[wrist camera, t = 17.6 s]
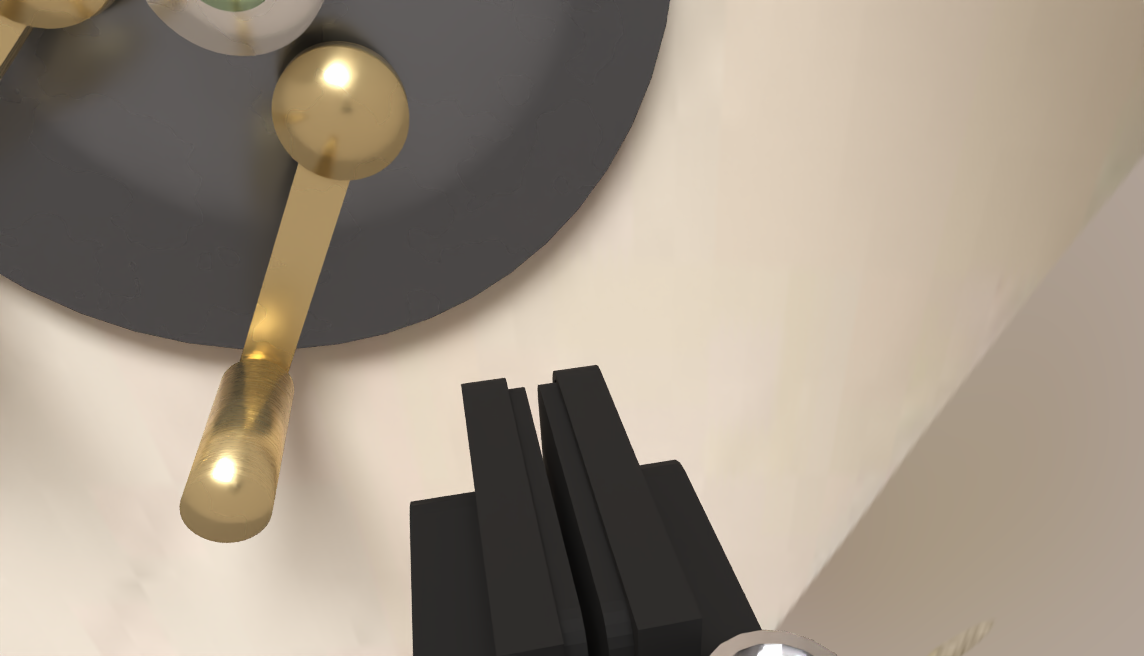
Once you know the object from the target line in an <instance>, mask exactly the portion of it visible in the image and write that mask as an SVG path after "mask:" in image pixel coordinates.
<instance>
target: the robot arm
mask: <svg viewBox="0 0 1144 656" xmlns="http://www.w3.org/2000/svg"><path fill="white" fill-rule="evenodd" d="M461 387H462V395H463V403H464V410H465V418H466V426H467V433H468V441H469V449H470V456H471V464H472V472H473V479H474V487H475V492H469V493H463V494H457V495H450V496H444V497H438V498H431V499H425V500H419V501H413V502H411V503H410V548H411V589H412V631H413V656H837V655H836V654H835V653H834V652H832V651H830V650H829V649H827V648H826V647H824V646H822V645H821V644H819V643H817V642H815V641H814V640H812V639H809V638H806V637H803V636H800V635H797V634H794V633H790V632H785V631H773V630H762V629H761V627H760V625H759V623H758V621H757V619H756V617H755V615H754V613H753V611H752V609H751V606H750V604H749V602H748V600H747V598H746V596H745V594H744V592H743V590H742V588H741V586H740V584H739V582H738V580H737V577H736V575H735V573H734V571H733V569H732V567H731V565H730V563H729V561H728V559H727V557H726V555H725V553H724V551H723V549H722V546H721V544H720V542H719V540H718V538H717V536H716V534H715V532H714V530H713V528H712V526H711V524H710V522H709V520H708V517H707V515H706V513H705V511H704V509H703V507H702V505H701V503H700V501H699V499H698V497H697V495H696V493H695V491H694V488H693V486H692V484H691V482H690V480H689V478H688V476H687V474H686V472H685V470H684V469H683V467H682V465H681V464H680V462H678V461H677V460H670V461H664V462H658V463H651V464H645V465H639V463H638V461H637V458H636V456H635V453H634V451H633V448H632V446H631V444H630V441H629V439H628V436H627V434H626V431H625V429H624V427H623V424H622V422H621V419H620V417H619V414H618V412H617V410H616V407H615V405H614V402H613V400H612V397H611V395H610V393H609V390H608V388H607V385H606V383H605V380H604V378H603V376H602V373H601V371H600V369H599V367H598V366H597V365H593V366H586V367H578V368H571V369H564V370H557V371H553V383H549V384H542V385H538V403H539V416H540V428H541V440H542V453H543V458H542V454H541V450H540V446H539V442H538V438H537V434H536V430H535V426H534V422H533V418H532V414H531V410H530V406H529V402H528V398H527V394H526V391H525V388H524V387H521V388H514V389H508V387H507V382H506V379H505V378H500V379H493V380H486V381H479V382H472V383H465V384H461Z"/></svg>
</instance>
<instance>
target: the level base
mask: <svg viewBox="0 0 1144 656" xmlns="http://www.w3.org/2000/svg"><path fill="white" fill-rule="evenodd" d="M669 2H670V0H115V1H114V2H113V3H112V4H111V5H110V6H109V7H108V8H107V9H106V10H104V11H103V12H101V13H100V14H98V15H96V16H94V17H92V18H90V19H87V20H85V21H83V22H80V23H78V24H75V25H72V26H68V27H63V28H55V29H45V28H36V27H34V29H33V31H32V32H31V34H30V35H29V37H28V38H27V40H26V41H25V43H24V44H23V46H22V48H21V49H20V51H19V52H18V54H17V55H16V57H15V58H14V60H13V62H12V63H11V65H10V66H9V68H8V69H7V71H6V72H5V74H4V75H3V77H2V79H1V80H0V274H1V275H3V276H5V277H6V278H8V279H10V280H12V281H13V282H15V283H17V284H19V285H20V286H22V287H24V288H26V289H27V290H30V291H32V292H34V293H36V294H39V295H41V296H43V297H45V298H48V299H50V300H52V301H54V302H57V303H59V304H61V305H63V306H66V307H68V308H70V309H72V310H74V311H77V312H79V313H81V314H84V315H87V316H90V317H93V318H96V319H99V320H102V321H105V322H108V323H111V324H114V325H117V326H120V327H124V328H127V329H130V330H133V331H136V332H140V333H145V334H149V335H154V336H159V337H163V338H168V339H172V340H177V341H181V342H186V343H192V344H201V345H210V346H219V347H228V348H237V349H244V346H245V342H246V339H247V336H248V332H249V329H250V325H251V322H252V319H253V315H254V312H255V309H256V305H257V302H258V298H259V295H260V292H261V288H262V285H263V281H264V278H265V275H266V271H267V268H268V264H269V261H270V258H271V254H272V251H273V247H274V244H275V241H276V237H277V234H278V231H279V227H280V224H281V220H282V217H283V214H284V210H285V207H286V203H287V200H288V197H289V193H290V190H291V186H292V183H293V180H294V176H295V173H296V170H297V166H298V162H296V161H295V160H294V159H293V158H292V157H291V156H290V154H289V153H288V152H287V151H286V150H285V148H284V147H283V145H282V144H281V142H280V140H279V138H278V136H277V133H276V131H275V128H274V124H273V119H272V98H273V93H274V90H275V87H276V84H277V82H278V80H279V78H280V76H281V75H282V73H283V71H284V69H285V68H286V66H287V65H288V64H289V62H290V61H291V60H292V59H293V58H294V57H295V56H296V55H297V54H299V53H300V52H301V51H303V50H304V49H306V48H308V47H310V46H312V45H315V44H318V43H322V42H326V41H348V42H353V43H356V44H360V45H363V46H365V47H367V48H369V49H371V50H373V51H374V52H376V53H378V54H379V55H380V56H381V57H383V58H384V59H385V60H386V61H387V62H388V63H389V64H390V65H391V66H392V67H393V69H394V70H395V71H396V73H397V74H398V76H399V78H400V79H401V81H402V83H403V86H404V88H405V91H406V95H407V100H408V108H409V129H408V134H407V138H406V141H405V143H404V145H403V147H402V149H401V151H400V153H399V154H398V155H397V157H396V158H395V159H394V160H393V161H392V162H391V163H390V164H389V165H388V166H387V167H386V168H384V169H383V170H381V171H380V172H378V173H376V174H374V175H372V176H369V177H366V178H362V179H358V180H350V182H349V185H348V188H347V191H346V194H345V197H344V200H343V204H342V207H341V210H340V213H339V216H338V219H337V222H336V225H335V228H334V232H333V235H332V238H331V241H330V244H329V247H328V250H327V253H326V256H325V259H324V263H323V266H322V269H321V272H320V275H319V278H318V281H317V284H316V287H315V291H314V294H313V297H312V300H311V303H310V306H309V309H308V312H307V315H306V318H305V322H304V325H303V328H302V331H301V334H300V337H299V340H298V343H297V346H296V349H297V348H306V347H316V346H325V345H335V344H342V343H346V342H351V341H355V340H360V339H364V338H369V337H373V336H378V335H382V334H386V333H389V332H392V331H395V330H398V329H401V328H404V327H406V326H409V325H412V324H415V323H418V322H421V321H424V320H427V319H430V318H432V317H434V316H436V315H438V314H440V313H442V312H444V311H446V310H448V309H450V308H452V307H454V306H456V305H458V304H461V303H463V302H465V301H467V300H469V299H471V298H473V297H474V296H476V295H477V294H479V293H480V292H482V291H483V290H485V289H487V288H488V287H490V286H491V285H493V284H494V283H496V282H497V281H499V280H501V279H502V278H504V277H505V276H507V275H508V274H510V273H511V272H512V271H514V270H515V269H516V268H517V267H518V266H520V265H521V264H522V263H523V262H524V261H526V260H527V259H528V258H529V257H530V256H532V255H533V254H534V253H535V252H536V251H538V250H539V249H540V248H541V247H542V246H544V245H545V244H546V243H547V242H548V241H549V240H550V239H551V238H552V237H553V236H554V235H555V234H556V232H557V231H558V230H559V229H560V228H561V227H562V226H563V225H564V224H565V223H566V222H567V221H568V220H569V219H570V218H571V216H572V215H573V214H574V213H575V212H576V211H577V210H578V209H579V208H580V206H581V205H582V204H583V202H584V201H585V200H586V198H587V197H588V195H589V194H590V193H591V191H592V190H593V189H594V187H595V186H596V184H597V183H598V182H599V180H600V179H601V178H602V176H603V175H604V173H605V172H606V171H607V169H608V168H609V166H610V164H611V162H612V160H613V159H614V157H615V155H616V153H617V151H618V150H619V148H620V146H621V144H622V142H623V141H624V139H625V137H626V135H627V133H628V132H629V130H630V128H631V126H632V124H633V122H634V119H635V117H636V114H637V112H638V109H639V107H640V105H641V102H642V100H643V97H644V95H645V92H646V90H647V87H648V85H649V83H650V80H651V78H652V74H653V70H654V67H655V63H656V59H657V56H658V52H659V49H660V45H661V41H662V38H663V34H664V31H665V27H666V22H667V15H668V9H669Z"/></svg>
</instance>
